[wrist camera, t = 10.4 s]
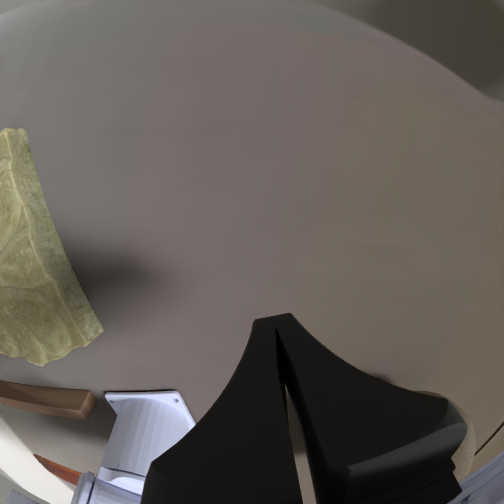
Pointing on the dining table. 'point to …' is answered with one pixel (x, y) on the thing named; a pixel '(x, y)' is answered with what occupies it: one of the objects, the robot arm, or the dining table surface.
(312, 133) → the dining table surface
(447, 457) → the robot arm
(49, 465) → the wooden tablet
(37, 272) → the decorative tile
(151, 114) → the dining table surface
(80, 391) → the frame
